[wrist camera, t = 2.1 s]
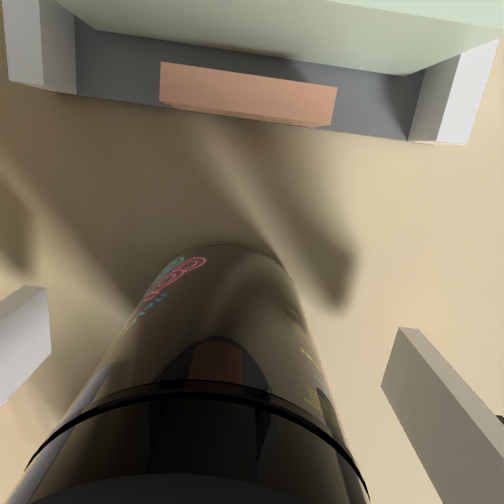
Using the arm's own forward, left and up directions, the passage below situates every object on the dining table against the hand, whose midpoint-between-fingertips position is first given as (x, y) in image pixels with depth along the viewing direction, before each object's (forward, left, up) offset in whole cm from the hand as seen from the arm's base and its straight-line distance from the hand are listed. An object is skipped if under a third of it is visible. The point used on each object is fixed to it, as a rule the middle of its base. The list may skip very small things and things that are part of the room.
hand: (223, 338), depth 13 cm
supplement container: (0, 0, -3) cm, 3 cm away
